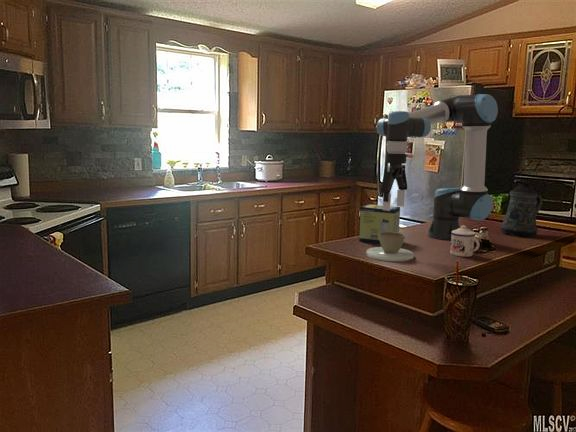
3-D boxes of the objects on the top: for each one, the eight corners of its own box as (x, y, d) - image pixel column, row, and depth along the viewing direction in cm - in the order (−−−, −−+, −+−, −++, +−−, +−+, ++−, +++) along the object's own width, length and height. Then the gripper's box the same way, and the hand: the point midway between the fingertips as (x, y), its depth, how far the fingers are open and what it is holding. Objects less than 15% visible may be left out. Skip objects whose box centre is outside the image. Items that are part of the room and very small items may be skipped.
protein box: (365, 237, 232) (367, 203, 229) (398, 241, 225) (401, 206, 222) (358, 241, 222) (359, 206, 220) (393, 245, 216) (395, 209, 213)
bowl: (404, 255, 191) (405, 237, 189) (377, 254, 192) (378, 235, 191) (403, 250, 200) (404, 232, 199) (378, 248, 202) (379, 230, 201)
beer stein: (495, 234, 247) (500, 183, 243) (508, 229, 262) (513, 181, 258) (531, 239, 237) (537, 186, 232) (542, 233, 251) (548, 183, 247)
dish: (378, 248, 209) (378, 244, 209) (420, 255, 199) (420, 251, 199) (358, 256, 194) (358, 252, 194) (402, 264, 184) (403, 260, 184)
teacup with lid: (444, 253, 203) (447, 225, 201) (458, 250, 208) (460, 223, 207) (470, 259, 194) (473, 230, 192) (484, 256, 199) (487, 228, 197)
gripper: (399, 151, 203) (396, 203, 206) (373, 153, 182) (370, 211, 186) (417, 152, 198) (414, 205, 202) (392, 154, 178) (389, 213, 182)
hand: (393, 208), depth 194 cm, fingers open, 13 cm apart
